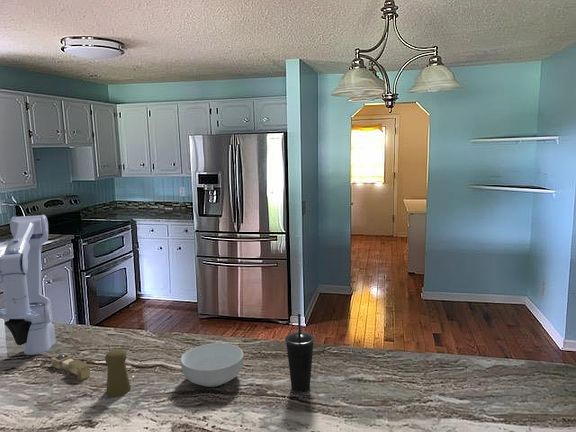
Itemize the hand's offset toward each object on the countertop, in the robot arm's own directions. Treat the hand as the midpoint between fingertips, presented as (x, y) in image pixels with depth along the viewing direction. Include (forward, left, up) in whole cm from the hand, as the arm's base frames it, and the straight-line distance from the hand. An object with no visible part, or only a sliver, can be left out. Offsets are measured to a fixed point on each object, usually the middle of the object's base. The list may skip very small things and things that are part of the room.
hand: (21, 343), depth 123 cm
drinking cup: (+5, +78, -10) cm, 79 cm away
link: (-3, +11, -9) cm, 15 cm away
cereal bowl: (+1, +54, -10) cm, 55 cm away
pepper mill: (+7, +30, -10) cm, 32 cm away
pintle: (-5, +8, -10) cm, 14 cm away
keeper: (+1, +16, -10) cm, 19 cm away
